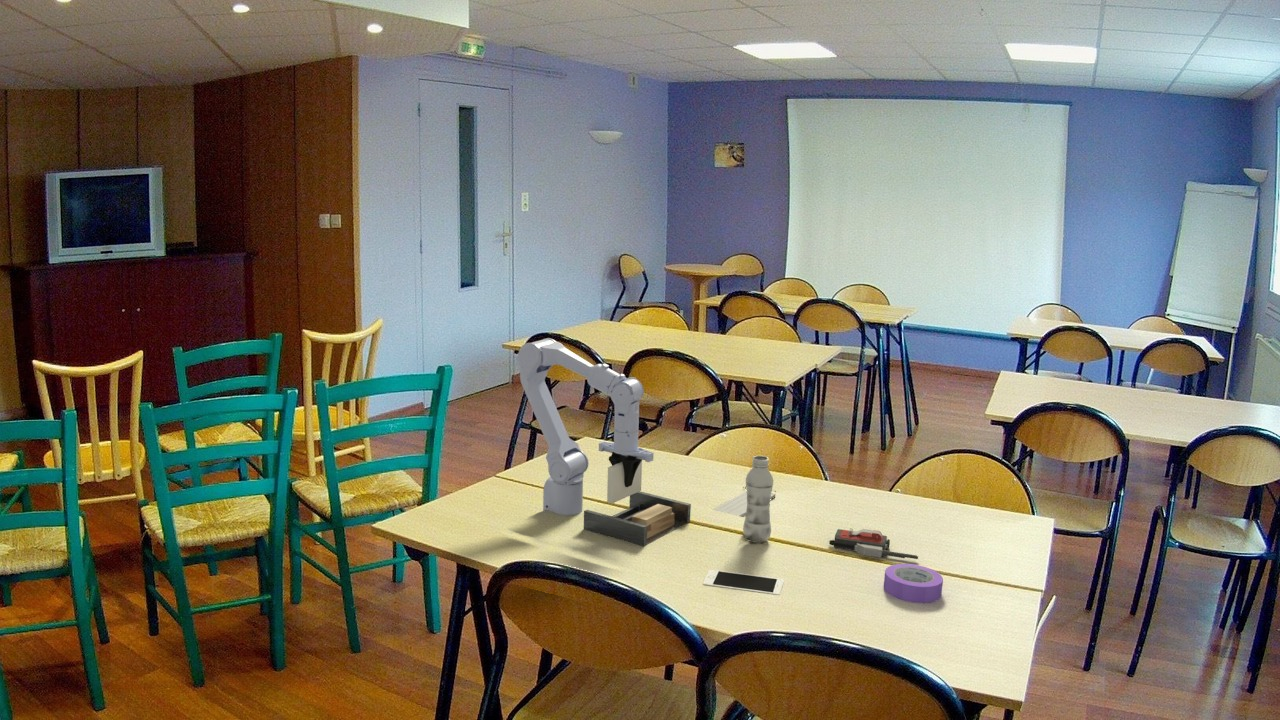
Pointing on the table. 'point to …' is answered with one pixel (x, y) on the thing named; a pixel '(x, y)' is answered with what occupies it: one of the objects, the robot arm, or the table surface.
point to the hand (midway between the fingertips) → (624, 485)
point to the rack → (631, 531)
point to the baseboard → (736, 505)
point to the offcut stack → (655, 519)
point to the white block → (621, 483)
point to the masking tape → (913, 583)
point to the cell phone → (744, 582)
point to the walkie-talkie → (866, 543)
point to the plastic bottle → (758, 501)
